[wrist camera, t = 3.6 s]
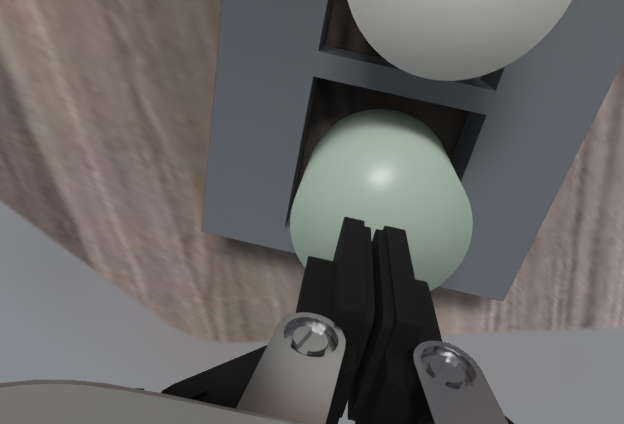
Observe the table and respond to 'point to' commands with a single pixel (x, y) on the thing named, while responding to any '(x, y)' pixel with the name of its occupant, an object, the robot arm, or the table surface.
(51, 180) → the table surface
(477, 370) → the robot arm
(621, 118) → the table surface
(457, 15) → the cream egg
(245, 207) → the pebble holder tray
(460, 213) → the sage egg
